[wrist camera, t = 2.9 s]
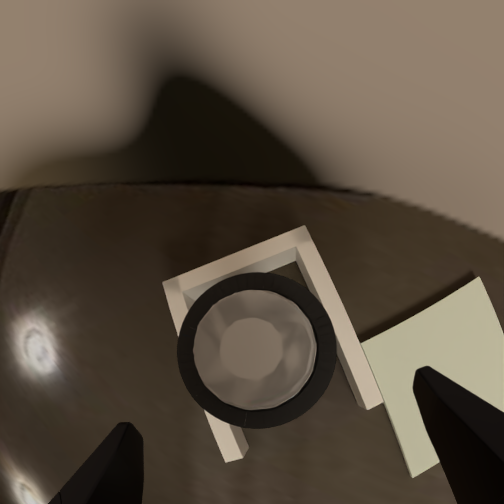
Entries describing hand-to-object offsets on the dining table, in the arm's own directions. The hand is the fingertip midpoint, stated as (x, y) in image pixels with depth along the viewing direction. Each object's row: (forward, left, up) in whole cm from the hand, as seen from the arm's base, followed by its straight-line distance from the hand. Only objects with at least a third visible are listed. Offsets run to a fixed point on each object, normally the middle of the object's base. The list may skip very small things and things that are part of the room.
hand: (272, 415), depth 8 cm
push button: (0, +3, -10) cm, 10 cm away
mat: (+10, -4, -10) cm, 15 cm away
